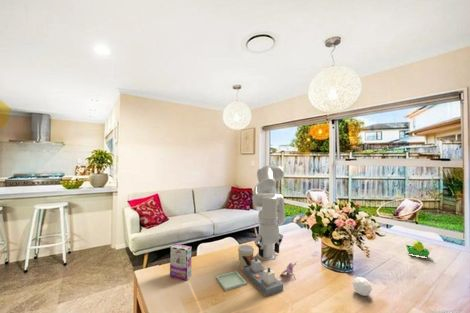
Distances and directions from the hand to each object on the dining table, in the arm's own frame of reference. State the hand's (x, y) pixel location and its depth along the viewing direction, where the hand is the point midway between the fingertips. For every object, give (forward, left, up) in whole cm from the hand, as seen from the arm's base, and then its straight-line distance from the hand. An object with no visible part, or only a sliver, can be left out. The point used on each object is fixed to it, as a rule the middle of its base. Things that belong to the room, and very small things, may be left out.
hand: (269, 254), depth 103 cm
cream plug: (0, +1, -17) cm, 16 cm away
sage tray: (+15, -12, -17) cm, 26 cm away
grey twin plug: (0, -11, -17) cm, 20 cm away
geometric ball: (-39, +24, -17) cm, 48 cm away
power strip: (0, -5, -17) cm, 18 cm away
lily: (-16, -3, -17) cm, 24 cm away
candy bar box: (+38, -29, -17) cm, 51 cm away
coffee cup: (+1, -21, -17) cm, 28 cm away
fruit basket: (-114, +16, -17) cm, 116 cm away
